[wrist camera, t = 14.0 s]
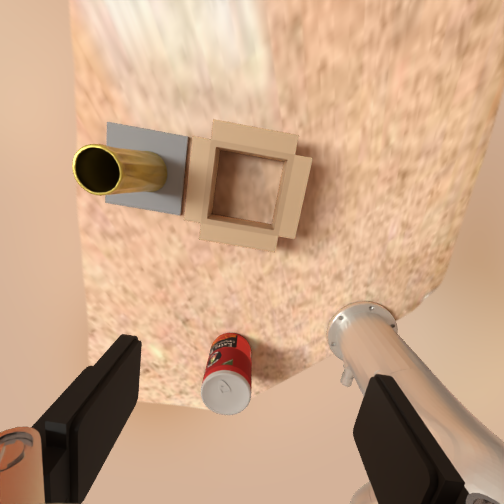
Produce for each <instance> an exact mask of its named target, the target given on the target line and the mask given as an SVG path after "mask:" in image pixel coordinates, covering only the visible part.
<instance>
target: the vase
mask: <svg viewBox="0 0 504 504" xmlns="http://www.w3.org/2000/svg"><path fill="white" fill-rule="evenodd" d="M72 166H73V167H72V168H73V173H74V177H75V179H76V181H77V182H78V184H79V185H80V186H81V187H82V188H83V189H85V190H86V191H87V192H89V193H91V194H94V195H100V196H101V195H112V194H121V193H133V192H154V191H157V190H159V189H160V188H162V187H163V186H164V184H165V182H166V179H167V168H166V165H165V163H164V161H163V160H162V158H161V157H160V156H158V155H157V154H155V153H154V152H151V151H139V150H131V149H120V148H115V147H109V146H106V145H101V144H90V145H86V146H83V147H82V148H80V149H79V150H78V151H77V152H76V154H75V156H74V159H73V164H72Z"/></svg>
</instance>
